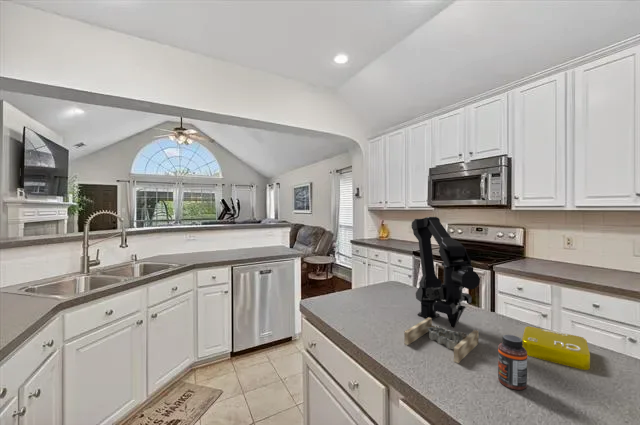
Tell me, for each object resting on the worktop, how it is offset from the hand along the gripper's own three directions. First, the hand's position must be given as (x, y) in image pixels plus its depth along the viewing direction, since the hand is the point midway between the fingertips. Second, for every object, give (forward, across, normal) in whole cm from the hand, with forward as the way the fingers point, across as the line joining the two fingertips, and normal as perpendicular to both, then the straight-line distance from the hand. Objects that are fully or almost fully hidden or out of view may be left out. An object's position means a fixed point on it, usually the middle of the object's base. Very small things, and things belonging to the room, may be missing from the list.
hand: (452, 327), depth 99 cm
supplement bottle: (+3, +18, +21) cm, 28 cm away
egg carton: (+3, +6, 0) cm, 7 cm away
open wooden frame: (+3, +9, 0) cm, 9 cm away
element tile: (+3, -9, +26) cm, 28 cm away
